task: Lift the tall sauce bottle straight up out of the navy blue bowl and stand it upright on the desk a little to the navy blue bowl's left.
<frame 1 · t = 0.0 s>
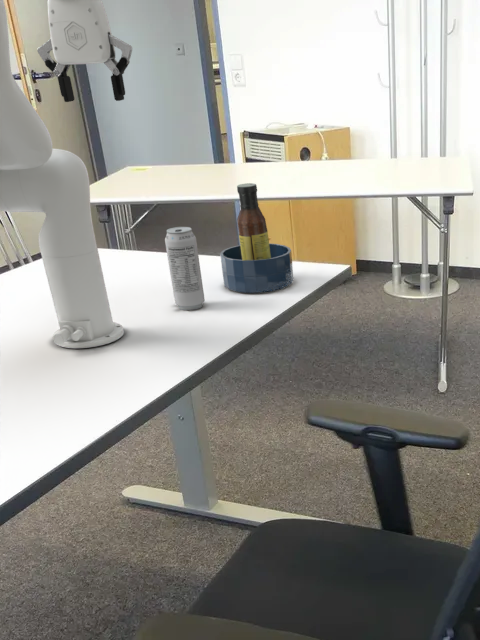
hand: (94, 100, 142), 37 cm above the table, tool pointing down, fingers open, 9 cm apart
energy drink can: (190, 307, 157), on the table
sauce bottle: (258, 283, 169), resting on navy blue bowl
navy blue bowl: (259, 284, 169), on the table
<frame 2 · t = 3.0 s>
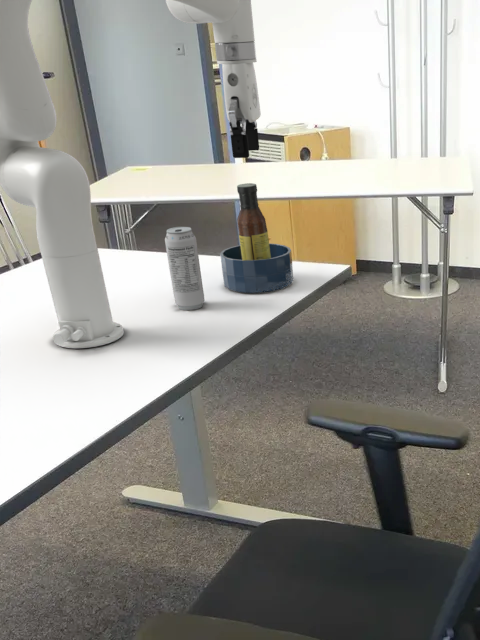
hand: (246, 153, 155), 26 cm above the table, tool pointing down, fingers open, 9 cm apart
nothing on the table moved.
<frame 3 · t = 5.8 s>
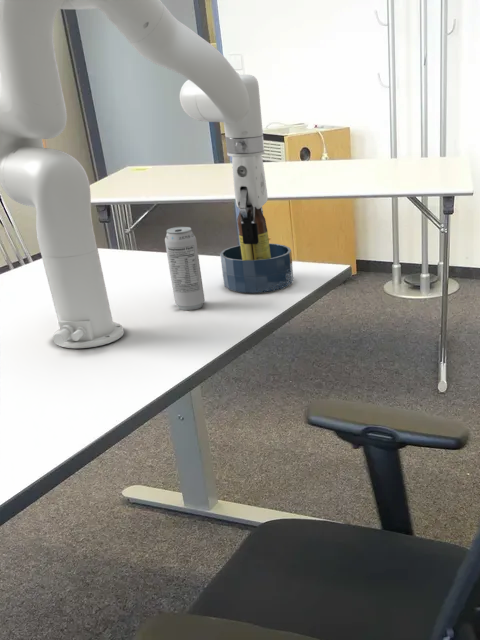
hand: (254, 238, 164), 10 cm above the table, tool pointing down, fingers closed on sauce bottle, 6 cm apart
sauce bottle: (258, 283, 169), resting on navy blue bowl, touching gripper
everything else where it was.
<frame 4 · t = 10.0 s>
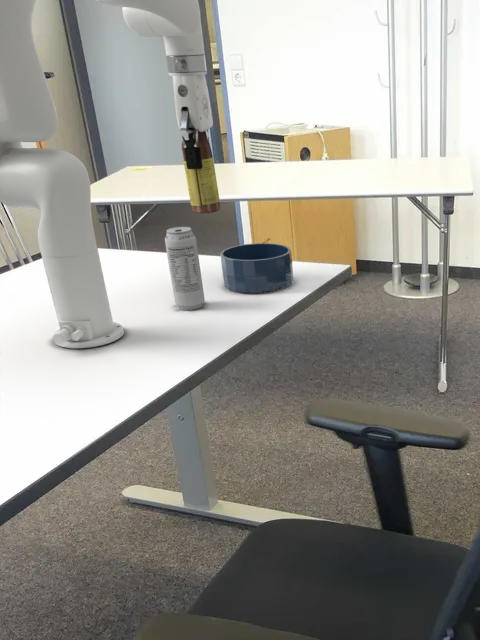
hand: (199, 165, 161), 23 cm above the table, tool pointing down, fingers closed on sauce bottle, 6 cm apart
sauce bottle: (205, 212, 167), point 14 cm above the table, touching gripper
everything else where it was.
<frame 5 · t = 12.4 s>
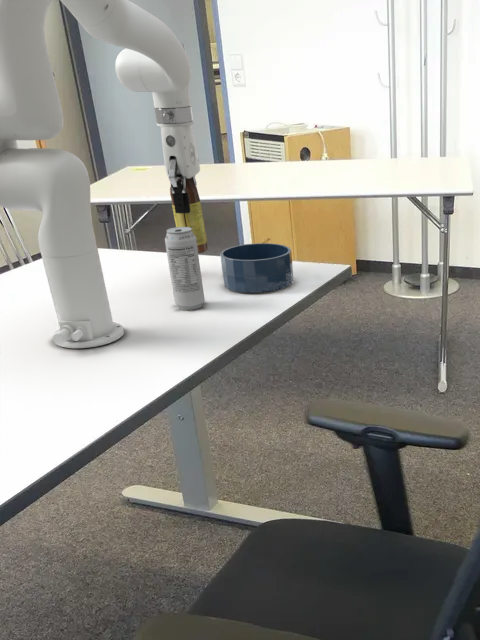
hand: (187, 208, 169), 14 cm above the table, tool pointing down, fingers closed on sauce bottle, 6 cm apart
sauce bottle: (193, 252, 174), point 5 cm above the table, touching gripper
everything else where it was.
when the fingers open (9 cm above the table, at t = 14.3 s): sauce bottle stays where it is, on the table.
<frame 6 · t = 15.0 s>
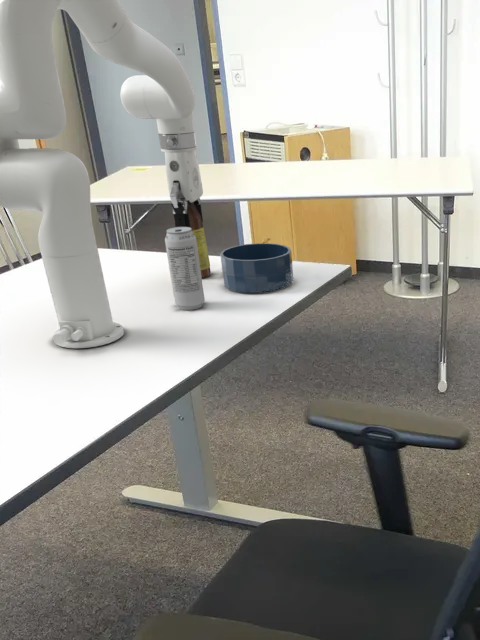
hand: (190, 228, 171), 10 cm above the table, tool pointing down, fingers open, 9 cm apart
sauce bottle: (197, 276, 177), on the table
everything else where it was.
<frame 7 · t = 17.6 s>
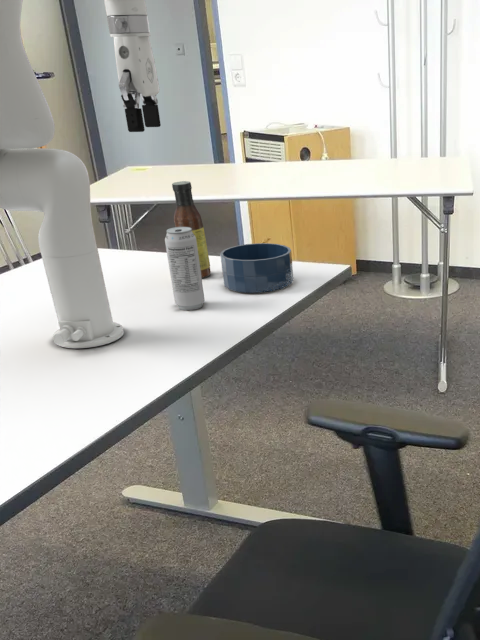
hand: (145, 129, 155), 31 cm above the table, tool pointing down, fingers open, 9 cm apart
nothing on the table moved.
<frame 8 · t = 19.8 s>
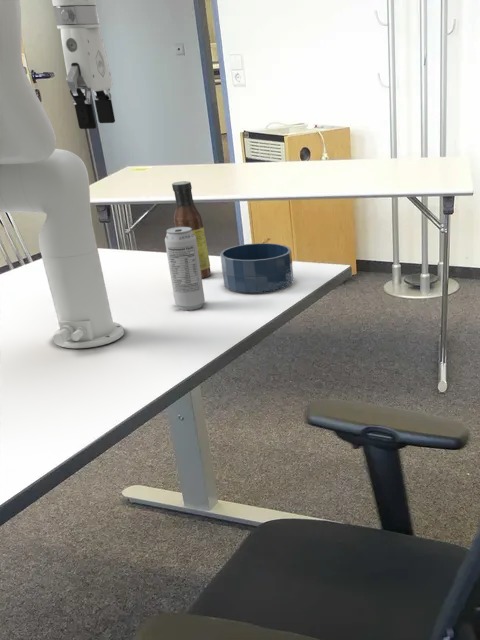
hand: (97, 125, 148), 32 cm above the table, tool pointing down, fingers open, 9 cm apart
nothing on the table moved.
at the end: sauce bottle inside the target area (0.1 cm from its centre), on the table; sauce bottle tilted 0°; the gripper is holding nothing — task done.
